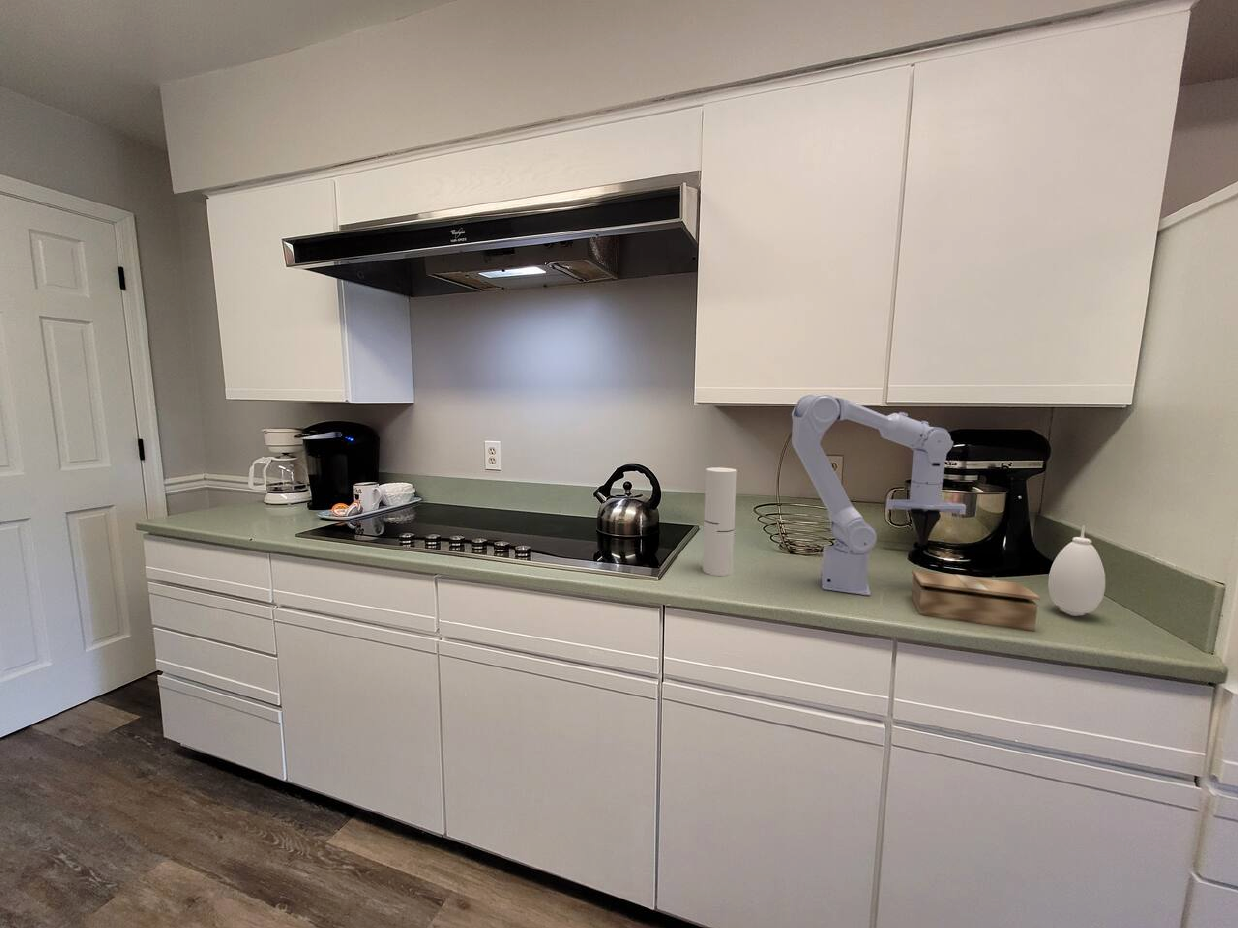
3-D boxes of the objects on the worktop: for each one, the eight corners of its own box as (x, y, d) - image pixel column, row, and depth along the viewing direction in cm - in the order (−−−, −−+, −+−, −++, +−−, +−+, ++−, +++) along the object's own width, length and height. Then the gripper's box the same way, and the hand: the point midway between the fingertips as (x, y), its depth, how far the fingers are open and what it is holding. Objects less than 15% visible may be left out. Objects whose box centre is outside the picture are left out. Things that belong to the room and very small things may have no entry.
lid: (921, 585, 94) (921, 581, 93) (911, 572, 102) (912, 569, 102) (1040, 600, 87) (1040, 596, 87) (1018, 585, 96) (1019, 581, 96)
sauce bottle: (1068, 604, 100) (1079, 519, 97) (1111, 621, 92) (1124, 529, 90) (1034, 606, 99) (1045, 520, 96) (1075, 624, 91) (1088, 531, 88)
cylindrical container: (708, 564, 123) (711, 466, 119) (736, 569, 119) (740, 468, 116) (698, 572, 117) (701, 470, 113) (727, 578, 113) (731, 472, 110)
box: (919, 614, 94) (921, 590, 94) (911, 597, 103) (913, 574, 102) (1034, 631, 88) (1037, 605, 87) (1015, 611, 96) (1018, 587, 95)
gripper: (891, 483, 103) (887, 544, 105) (972, 487, 98) (966, 552, 100) (886, 478, 110) (882, 536, 112) (962, 482, 104) (957, 542, 106)
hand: (921, 543), depth 106 cm, fingers closed
